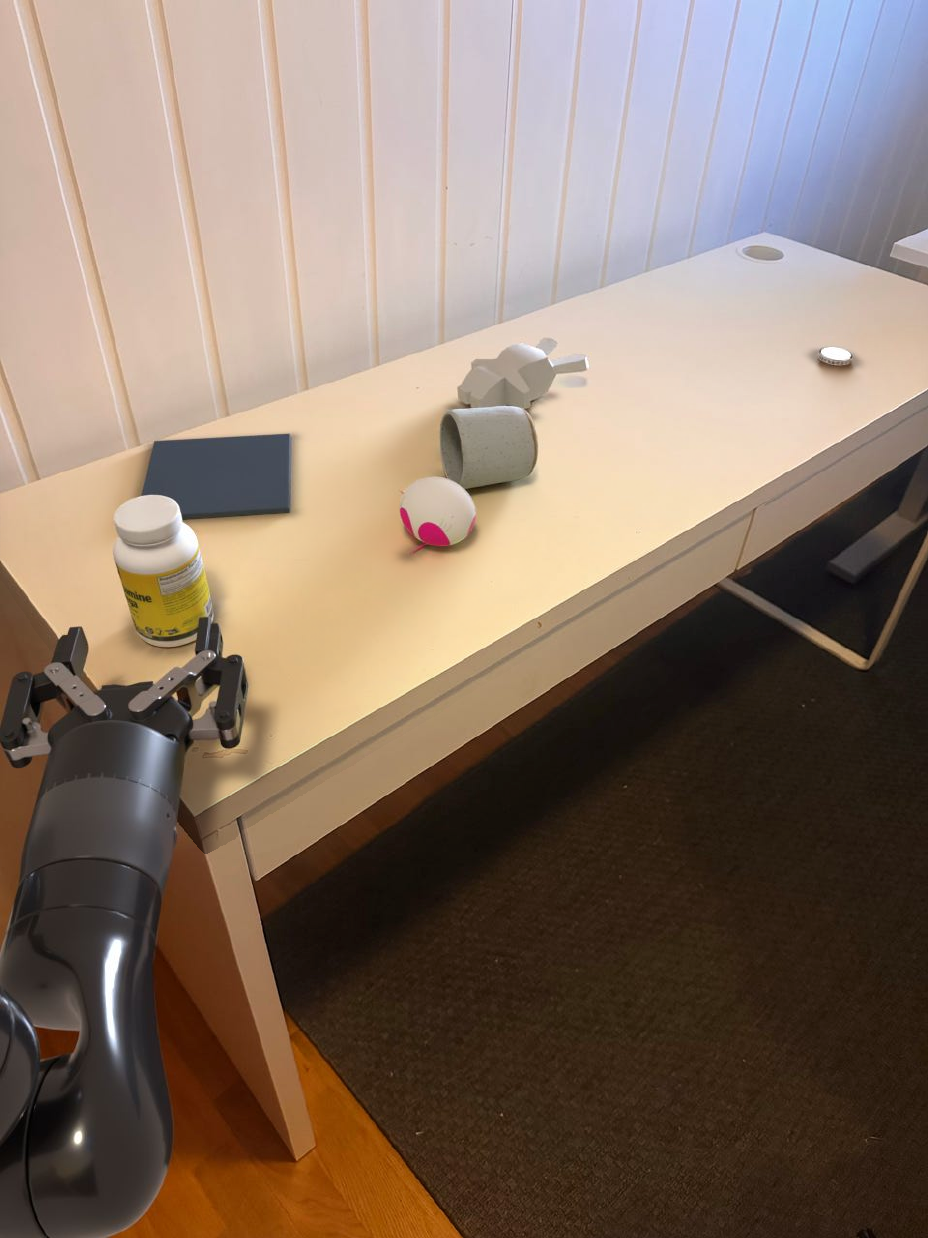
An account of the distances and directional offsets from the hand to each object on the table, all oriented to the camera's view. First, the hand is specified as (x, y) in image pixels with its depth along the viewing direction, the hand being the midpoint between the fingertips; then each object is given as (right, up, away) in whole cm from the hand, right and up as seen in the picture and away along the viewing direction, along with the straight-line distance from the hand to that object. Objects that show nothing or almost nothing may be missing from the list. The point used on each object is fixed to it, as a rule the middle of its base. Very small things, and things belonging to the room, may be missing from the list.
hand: (143, 630), depth 61 cm
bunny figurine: (+28, +27, +42) cm, 57 cm away
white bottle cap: (+68, +33, +50) cm, 91 cm away
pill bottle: (-1, 0, +11) cm, 11 cm away
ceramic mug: (+24, +16, +29) cm, 41 cm away
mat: (-2, +15, +28) cm, 31 cm away
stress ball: (+19, +8, +20) cm, 29 cm away
